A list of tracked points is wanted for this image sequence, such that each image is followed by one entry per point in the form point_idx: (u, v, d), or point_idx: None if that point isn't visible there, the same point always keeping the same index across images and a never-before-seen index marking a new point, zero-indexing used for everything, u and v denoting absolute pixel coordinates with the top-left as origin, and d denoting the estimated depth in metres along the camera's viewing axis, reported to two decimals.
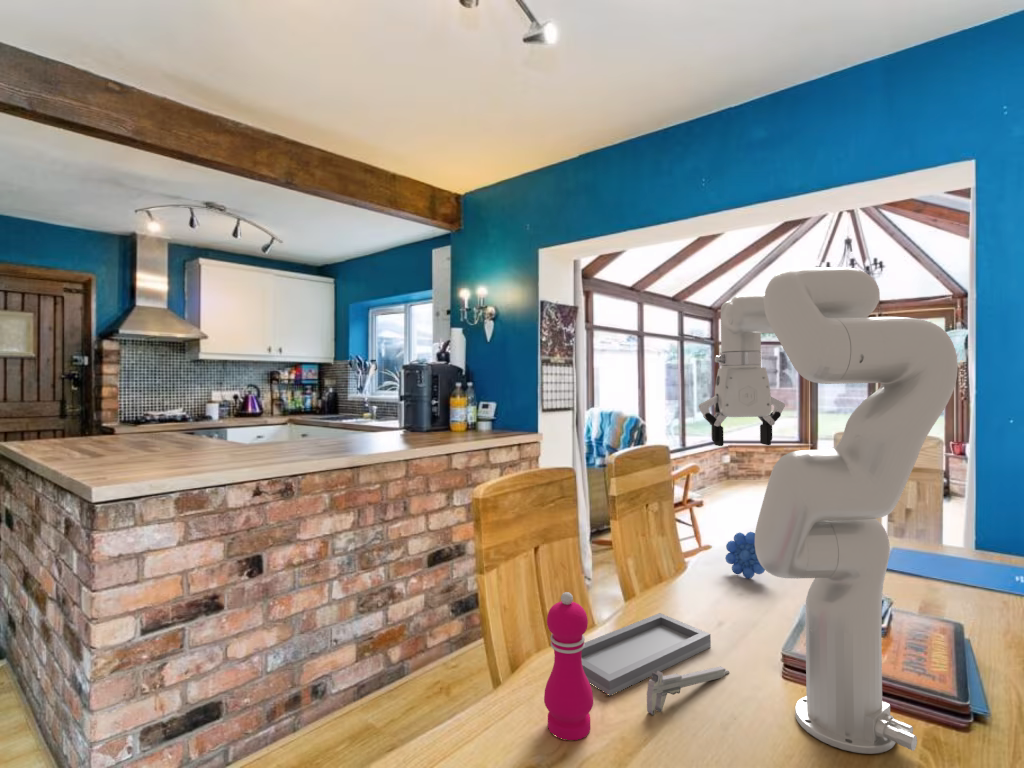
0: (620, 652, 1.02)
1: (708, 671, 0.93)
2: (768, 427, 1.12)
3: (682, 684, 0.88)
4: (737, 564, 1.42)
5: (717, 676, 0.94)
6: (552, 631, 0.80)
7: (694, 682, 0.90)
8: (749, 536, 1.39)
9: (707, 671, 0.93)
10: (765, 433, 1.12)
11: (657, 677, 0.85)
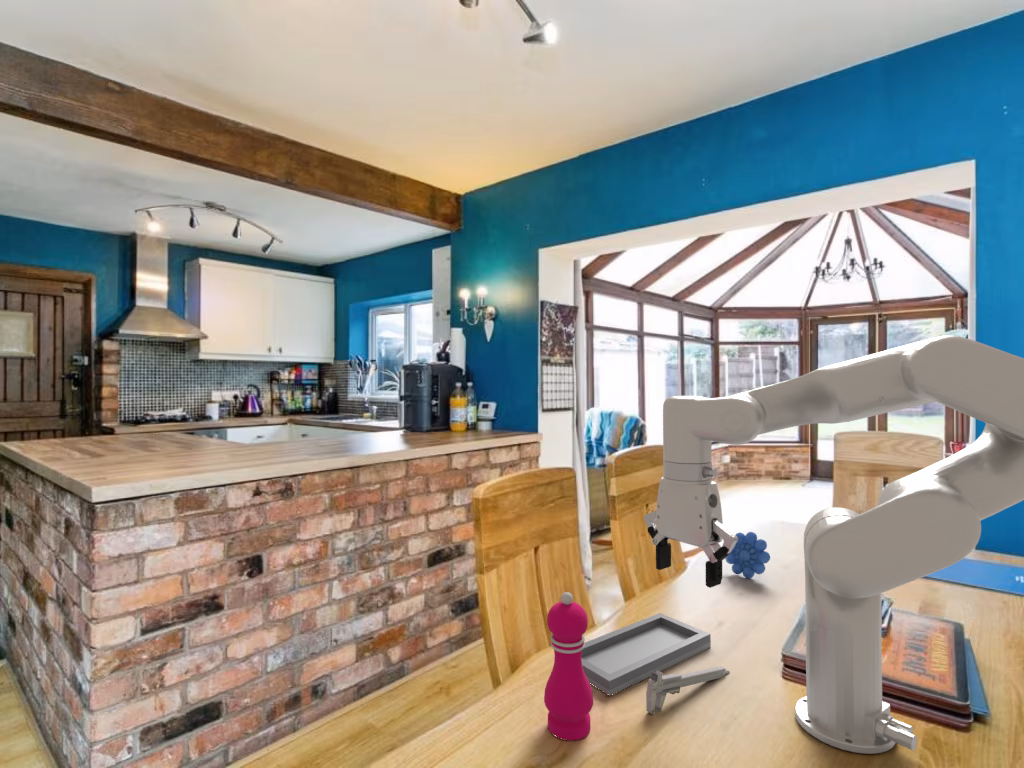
0: (620, 652, 1.02)
1: (708, 671, 0.93)
2: None
3: (682, 684, 0.89)
4: (737, 564, 1.42)
5: (717, 676, 0.94)
6: (552, 631, 0.80)
7: (694, 682, 0.90)
8: (749, 536, 1.39)
9: (707, 670, 0.93)
10: (668, 554, 0.95)
11: (656, 676, 0.85)
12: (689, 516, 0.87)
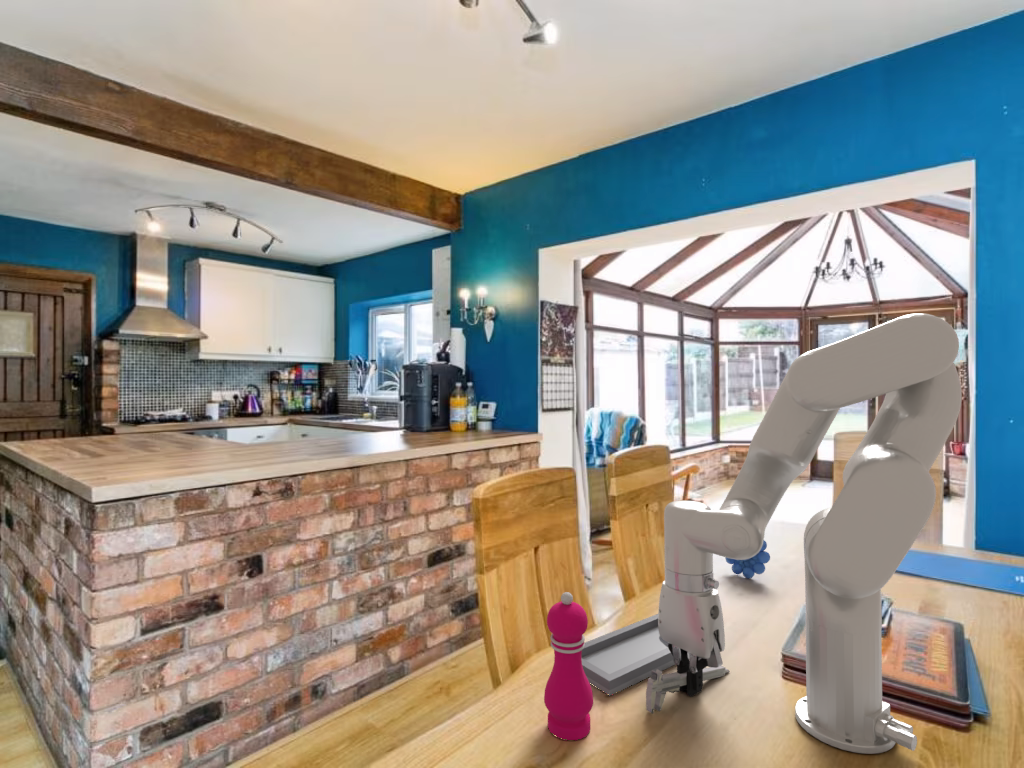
0: (620, 652, 1.02)
1: (708, 670, 0.93)
2: None
3: (681, 683, 0.89)
4: (737, 564, 1.42)
5: (717, 675, 0.94)
6: (552, 631, 0.80)
7: None
8: None
9: (707, 669, 0.93)
10: None
11: (656, 675, 0.85)
12: (691, 627, 0.87)
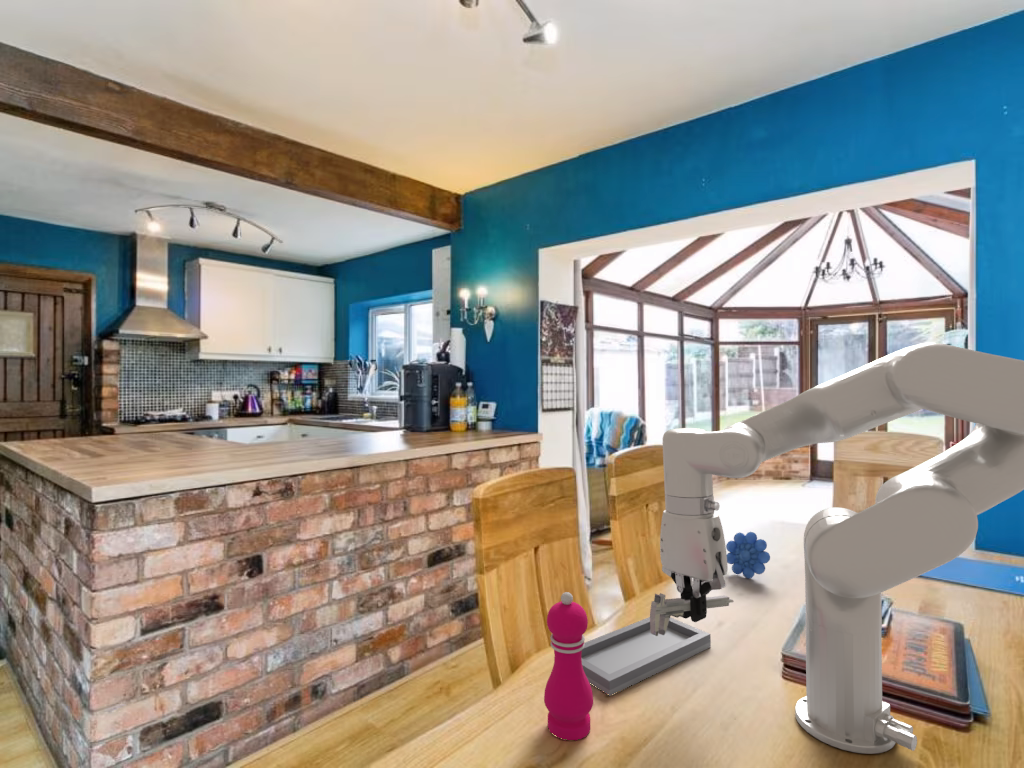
0: (620, 652, 1.02)
1: (712, 598, 0.93)
2: None
3: (685, 608, 0.88)
4: (737, 564, 1.42)
5: (721, 604, 0.94)
6: (552, 631, 0.80)
7: None
8: (749, 536, 1.39)
9: (710, 598, 0.93)
10: None
11: (660, 598, 0.85)
12: (693, 550, 0.87)
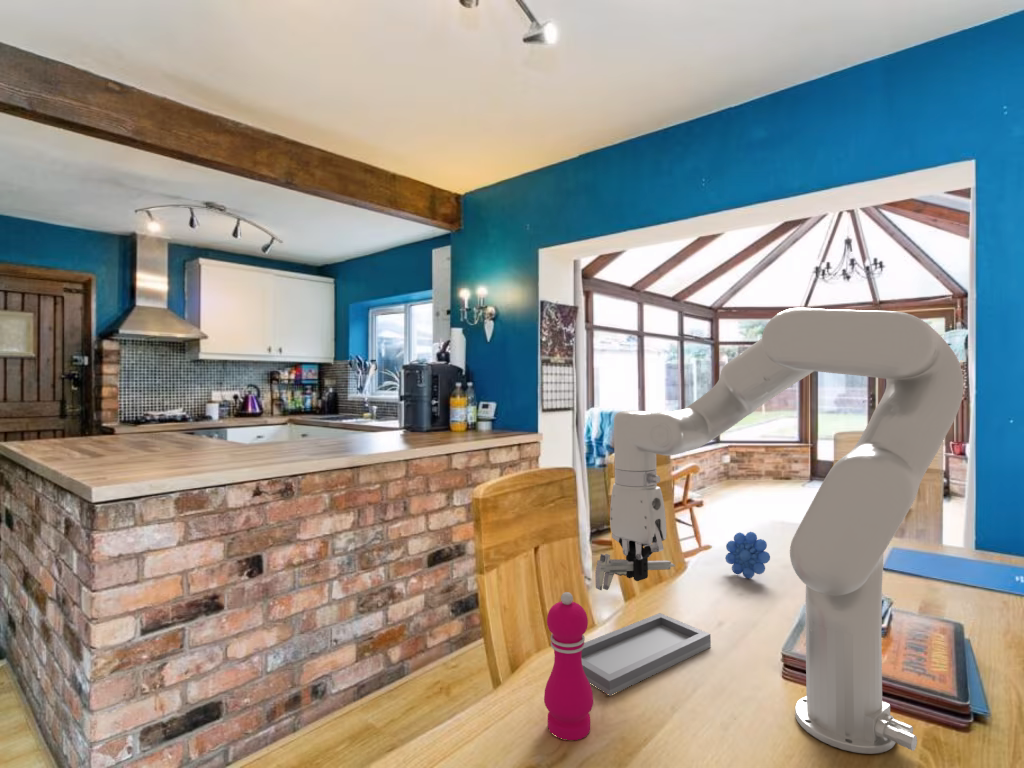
0: (620, 652, 1.02)
1: (654, 561, 1.05)
2: None
3: (628, 568, 1.00)
4: (737, 564, 1.42)
5: (663, 567, 1.06)
6: (552, 631, 0.80)
7: None
8: (749, 536, 1.39)
9: (653, 561, 1.05)
10: None
11: (604, 557, 0.97)
12: (636, 517, 0.99)
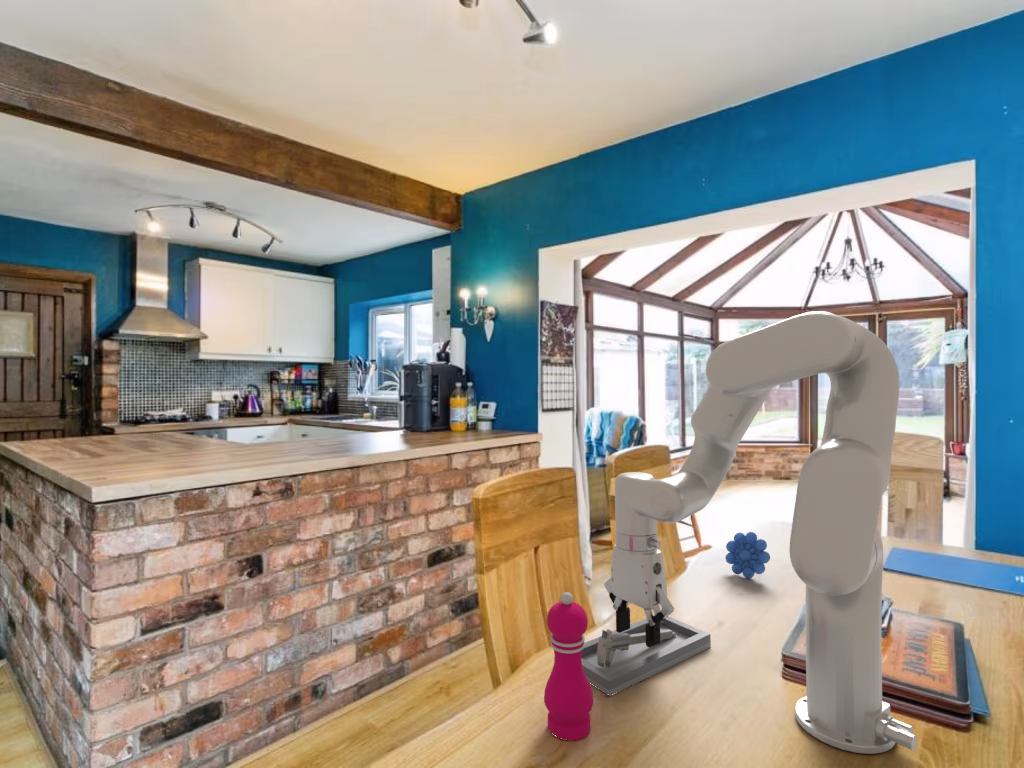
0: (620, 652, 1.02)
1: None
2: None
3: (630, 642, 1.00)
4: (737, 564, 1.42)
5: (664, 637, 1.06)
6: (552, 631, 0.80)
7: (642, 641, 1.02)
8: (749, 536, 1.39)
9: None
10: (627, 617, 1.05)
11: (606, 634, 0.97)
12: (637, 582, 0.99)
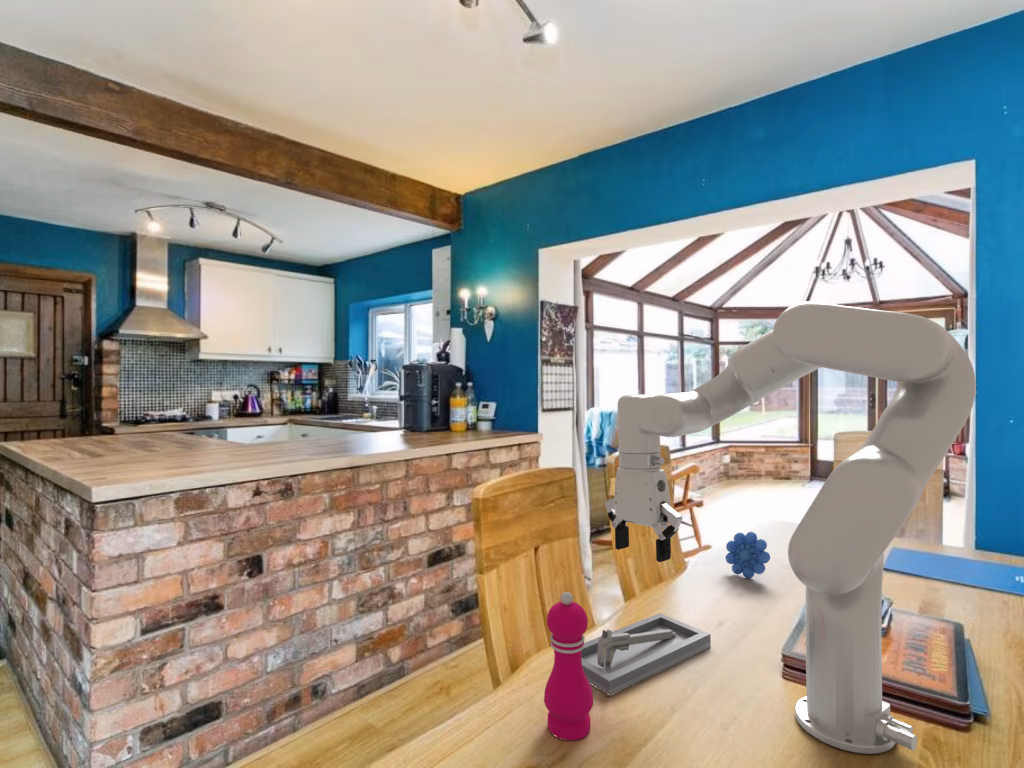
0: (620, 652, 1.02)
1: (656, 632, 1.05)
2: None
3: (630, 642, 1.00)
4: (737, 564, 1.42)
5: (664, 637, 1.06)
6: (552, 631, 0.80)
7: (642, 641, 1.02)
8: (749, 536, 1.39)
9: (655, 632, 1.05)
10: (626, 535, 1.06)
11: (606, 634, 0.97)
12: (641, 500, 0.99)
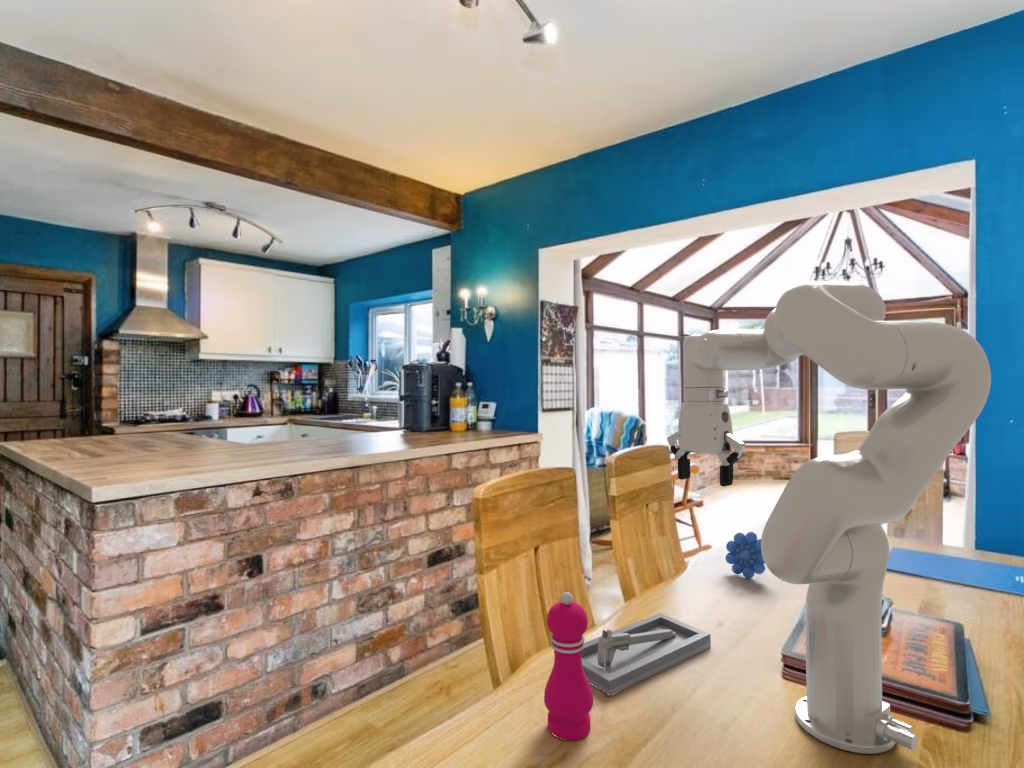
0: (620, 652, 1.02)
1: (656, 632, 1.05)
2: None
3: (630, 642, 1.00)
4: (737, 564, 1.42)
5: (664, 637, 1.06)
6: (552, 631, 0.80)
7: (642, 641, 1.02)
8: (749, 536, 1.39)
9: (655, 632, 1.05)
10: (688, 467, 1.15)
11: (606, 634, 0.97)
12: (706, 430, 1.08)
